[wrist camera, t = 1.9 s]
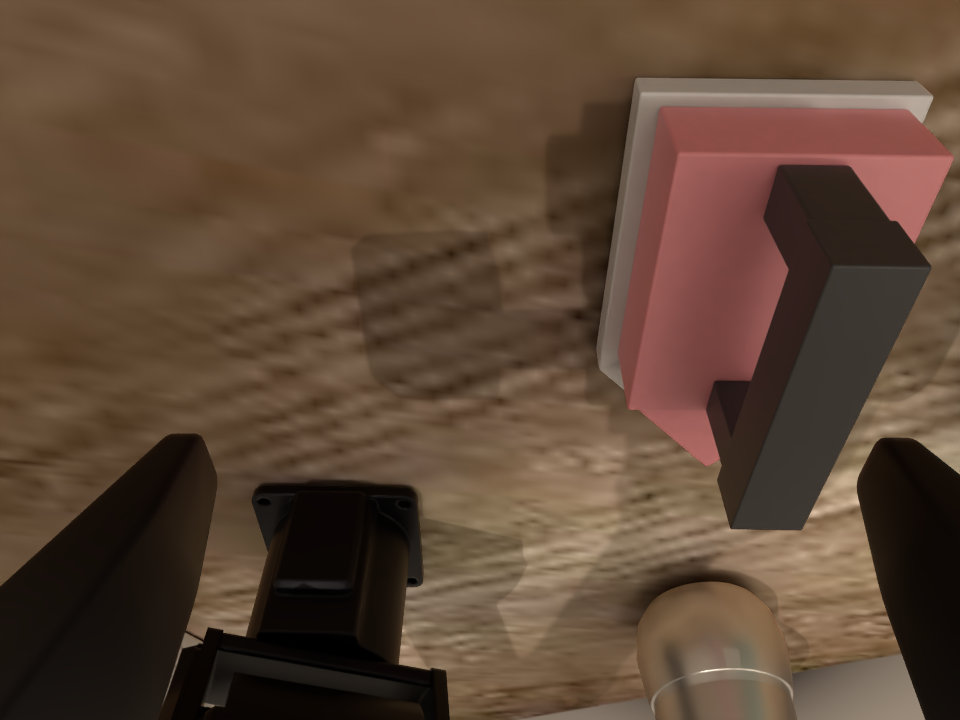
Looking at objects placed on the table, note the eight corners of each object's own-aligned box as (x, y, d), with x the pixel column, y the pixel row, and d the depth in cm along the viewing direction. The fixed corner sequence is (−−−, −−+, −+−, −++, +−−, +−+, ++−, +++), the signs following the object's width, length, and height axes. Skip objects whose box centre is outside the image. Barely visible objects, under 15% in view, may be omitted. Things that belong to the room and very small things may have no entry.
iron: (634, 76, 19) (692, 239, 13) (918, 80, 18) (1096, 245, 13) (585, 421, 27) (607, 610, 21) (780, 425, 27) (852, 614, 21)
